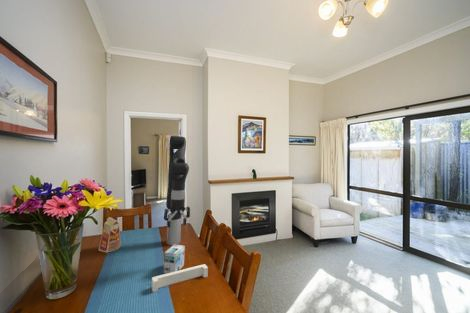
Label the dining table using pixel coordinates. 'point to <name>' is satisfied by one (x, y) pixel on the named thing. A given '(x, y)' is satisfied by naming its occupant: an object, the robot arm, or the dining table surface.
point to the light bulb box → (174, 258)
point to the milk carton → (110, 236)
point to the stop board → (178, 276)
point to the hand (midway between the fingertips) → (176, 226)
